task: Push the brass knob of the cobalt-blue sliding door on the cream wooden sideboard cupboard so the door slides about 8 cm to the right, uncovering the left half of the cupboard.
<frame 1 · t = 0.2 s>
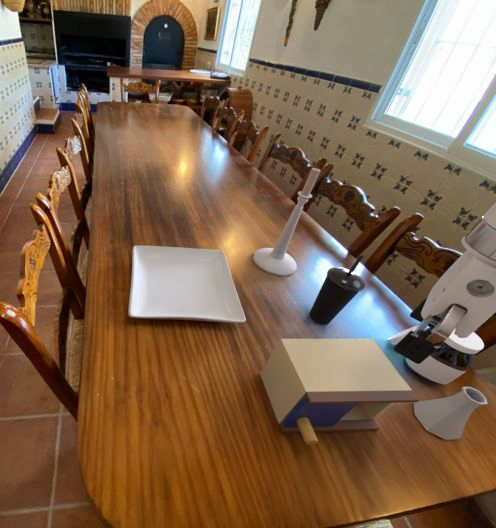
hand: (413, 337, 44), 21 cm above the table, tool pointing down, fingers open, 9 cm apart
flask: (433, 420, 57), on the table
square plate: (180, 288, 80), on the table
cupboard: (314, 401, 58), on the table
drinking cup: (318, 318, 75), on the table
candlestick: (274, 262, 91), on the table
sliding door: (325, 424, 48), point 6 cm above the table, slide at 0.0 cm
spread jar: (412, 360, 67), on the table
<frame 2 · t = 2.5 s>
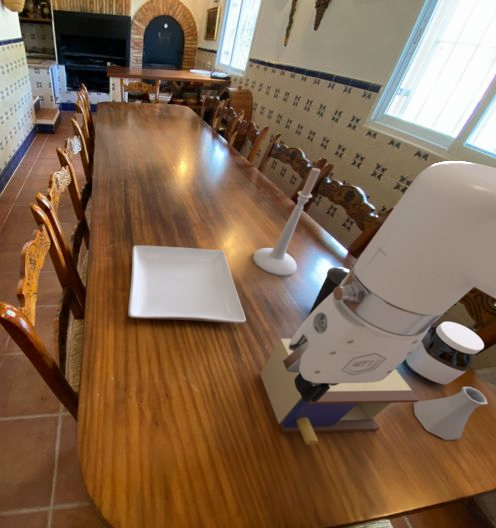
hand: (304, 390, 40), 18 cm above the table, tool pointing down, fingers closed
nothing on the table moved.
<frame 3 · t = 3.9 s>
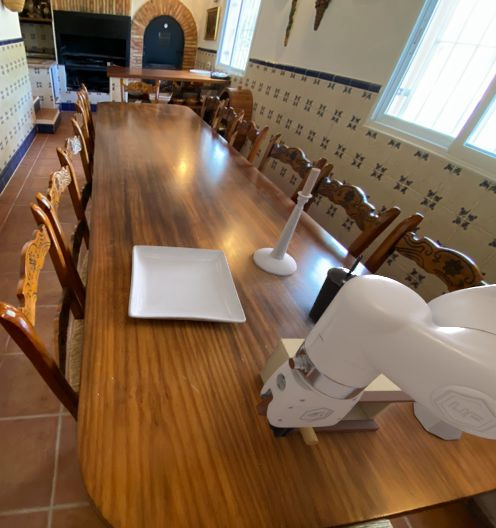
hand: (276, 427, 47), 6 cm above the table, tool pointing down, fingers closed
nothing on the table moved.
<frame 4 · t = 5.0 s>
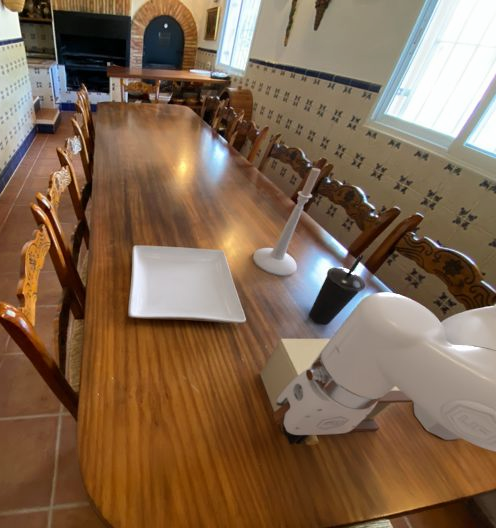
hand: (290, 434, 49), 4 cm above the table, tool pointing down, fingers closed
sliding door: (325, 424, 48), point 6 cm above the table, slide at 0.1 cm, touching gripper
everything else where it was.
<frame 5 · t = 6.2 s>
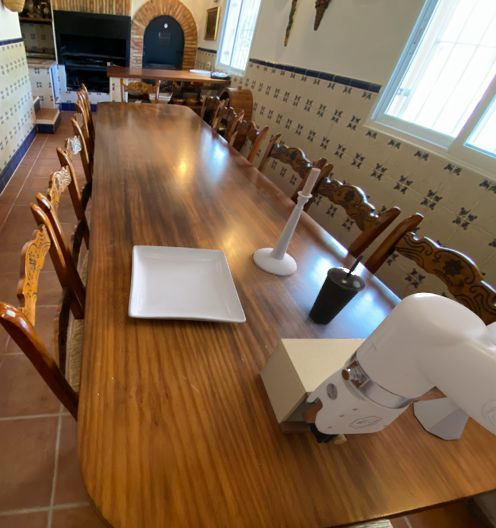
hand: (317, 433, 50), 4 cm above the table, tool pointing down, fingers closed
sliding door: (352, 423, 49), point 6 cm above the table, slide at 4.8 cm, touching gripper
everything else where it was.
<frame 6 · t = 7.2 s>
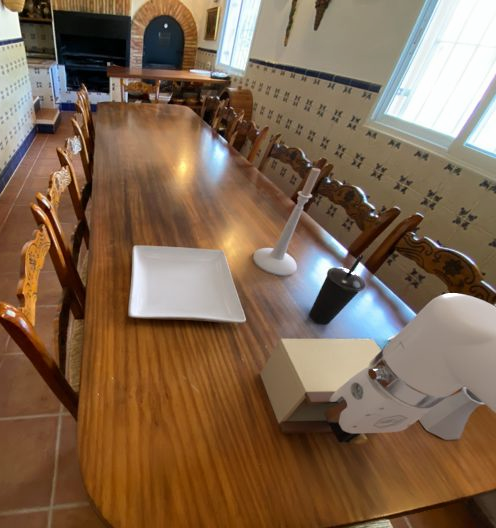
hand: (338, 432, 50), 4 cm above the table, tool pointing down, fingers closed
sliding door: (373, 423, 49), point 6 cm above the table, slide at 8.5 cm, touching gripper
everything else where it was.
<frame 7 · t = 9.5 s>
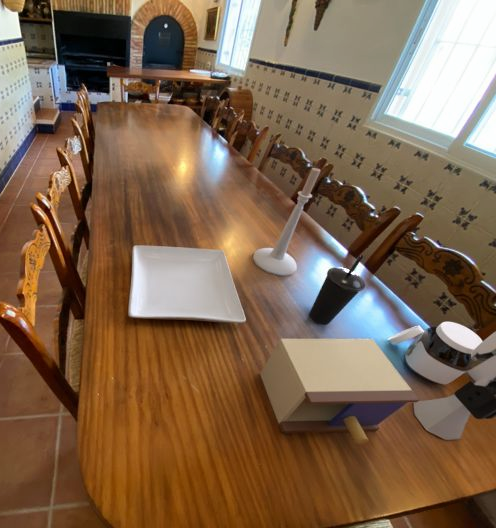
hand: (470, 406, 35), 22 cm above the table, tool pointing down, fingers closed
sliding door: (373, 423, 49), point 6 cm above the table, slide at 8.6 cm
everything else where it was.
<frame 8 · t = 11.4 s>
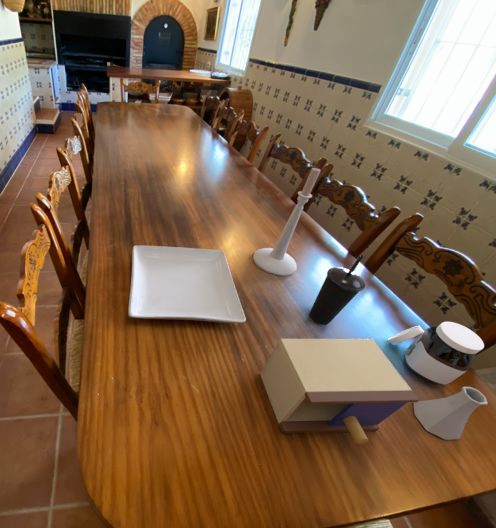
nothing on the table moved.
at the end: sliding door slide at 8.6 cm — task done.
